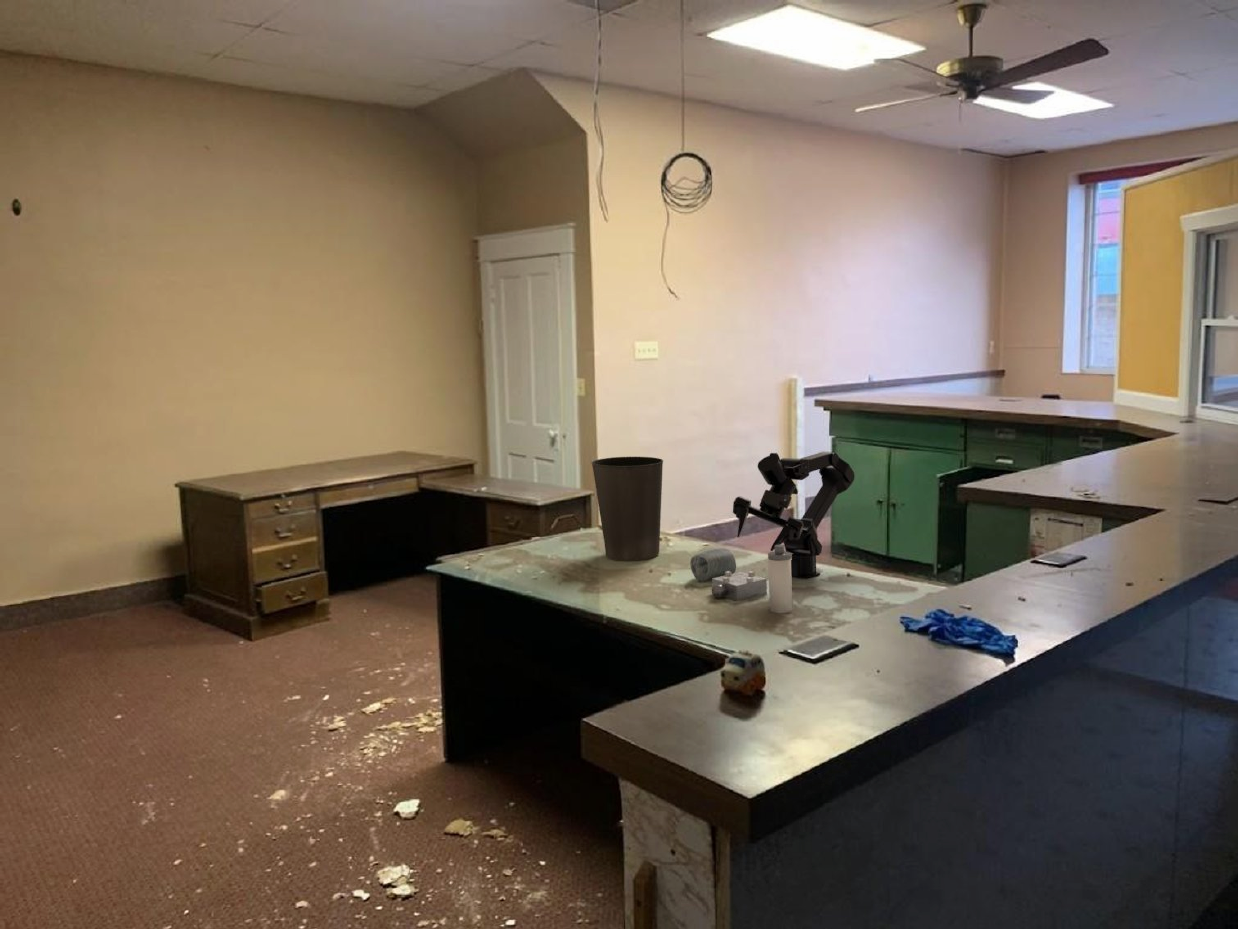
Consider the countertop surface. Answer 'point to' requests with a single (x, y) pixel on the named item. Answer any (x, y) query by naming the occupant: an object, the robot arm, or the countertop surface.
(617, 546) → the waste basket
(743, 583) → the studded square plate
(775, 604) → the white bottle
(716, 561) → the spool
